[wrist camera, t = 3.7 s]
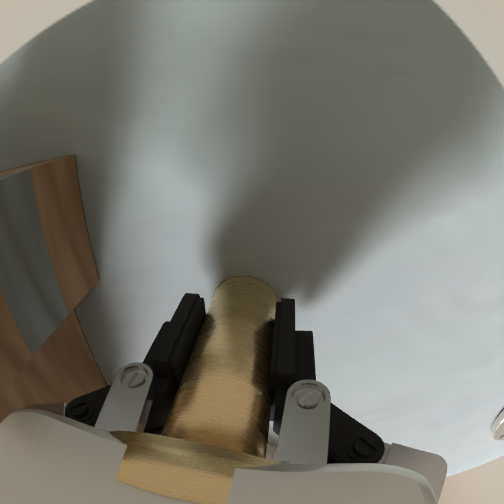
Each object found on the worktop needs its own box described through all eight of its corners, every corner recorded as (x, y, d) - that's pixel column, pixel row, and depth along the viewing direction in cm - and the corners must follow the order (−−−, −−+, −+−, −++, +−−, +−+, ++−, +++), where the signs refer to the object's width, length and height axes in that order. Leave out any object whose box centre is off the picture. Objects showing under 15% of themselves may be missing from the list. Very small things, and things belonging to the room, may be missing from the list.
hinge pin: (317, 246, 12) (351, 507, 3) (305, 353, 14) (303, 543, 6) (174, 242, 12) (34, 439, 4) (191, 345, 15) (128, 515, 6)
